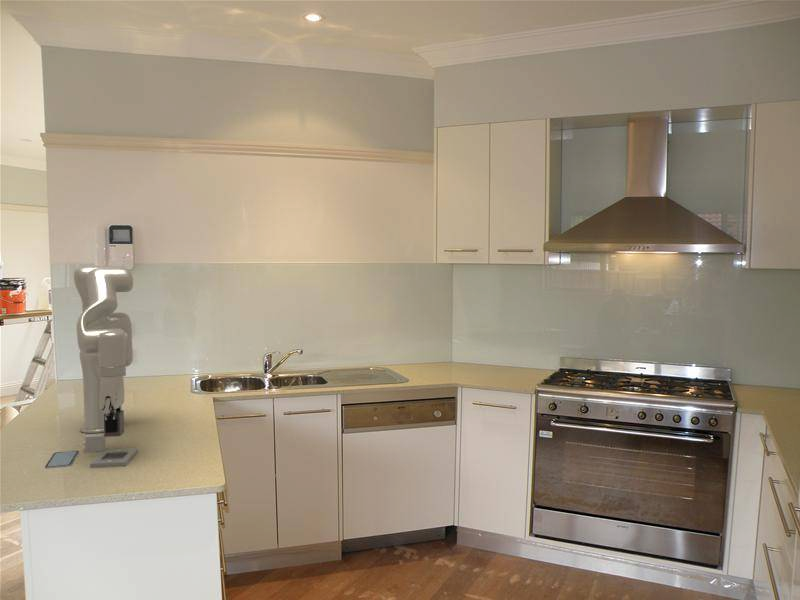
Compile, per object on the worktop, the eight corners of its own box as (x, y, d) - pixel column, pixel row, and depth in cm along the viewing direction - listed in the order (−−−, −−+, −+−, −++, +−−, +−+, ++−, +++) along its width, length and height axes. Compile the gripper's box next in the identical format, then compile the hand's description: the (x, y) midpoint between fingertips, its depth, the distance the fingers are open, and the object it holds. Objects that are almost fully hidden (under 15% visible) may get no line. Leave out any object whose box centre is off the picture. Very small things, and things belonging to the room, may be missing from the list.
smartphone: (43, 467, 184) (53, 452, 198) (43, 470, 184) (54, 454, 198) (71, 465, 186) (79, 450, 200) (71, 467, 186) (79, 452, 200)
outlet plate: (104, 453, 199) (104, 449, 198) (137, 451, 200) (137, 447, 200) (90, 467, 185) (90, 463, 185) (125, 465, 186) (125, 461, 186)
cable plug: (85, 449, 203) (84, 434, 203) (105, 448, 204) (105, 433, 204) (81, 452, 199) (81, 437, 199) (102, 451, 200) (101, 436, 200)
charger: (108, 432, 194) (108, 410, 193) (124, 432, 194) (123, 409, 194) (104, 436, 189) (103, 413, 189) (120, 436, 190) (119, 413, 190)
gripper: (107, 367, 198) (109, 423, 200) (90, 376, 182) (92, 438, 183) (132, 366, 200) (134, 422, 201) (117, 376, 183) (119, 436, 184)
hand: (114, 429), depth 192 cm, fingers closed on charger, 4 cm apart
